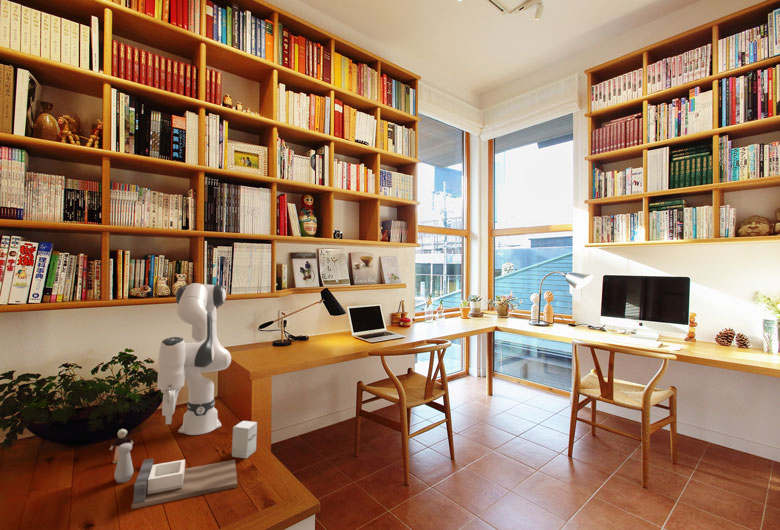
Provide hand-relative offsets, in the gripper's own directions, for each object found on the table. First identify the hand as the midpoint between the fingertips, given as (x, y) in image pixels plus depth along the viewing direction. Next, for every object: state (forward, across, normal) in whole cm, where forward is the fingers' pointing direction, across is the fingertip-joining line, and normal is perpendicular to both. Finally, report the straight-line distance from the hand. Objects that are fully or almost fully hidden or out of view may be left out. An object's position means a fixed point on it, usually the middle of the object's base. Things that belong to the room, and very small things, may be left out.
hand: (169, 418), depth 137 cm
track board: (+23, -6, -7) cm, 25 cm away
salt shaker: (+23, +6, +14) cm, 28 cm away
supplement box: (+23, +9, -28) cm, 37 cm away
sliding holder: (+21, -6, 0) cm, 22 cm away
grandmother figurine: (+23, +23, +18) cm, 37 cm away
